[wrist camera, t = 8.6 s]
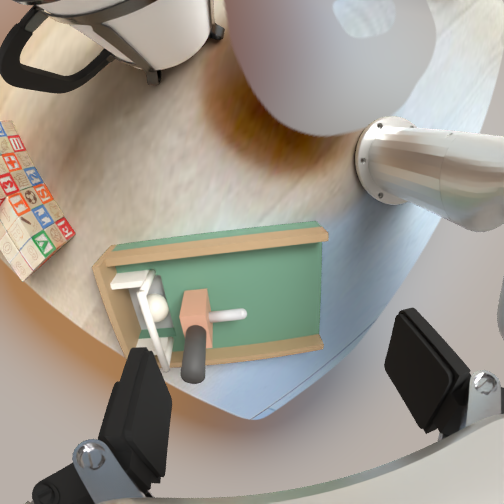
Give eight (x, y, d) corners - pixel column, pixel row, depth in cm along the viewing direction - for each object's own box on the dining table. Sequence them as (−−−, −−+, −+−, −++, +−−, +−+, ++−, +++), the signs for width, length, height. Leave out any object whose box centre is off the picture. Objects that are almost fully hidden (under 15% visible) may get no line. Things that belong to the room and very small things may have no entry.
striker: (243, 284, 38) (254, 351, 26) (246, 315, 40) (257, 386, 28) (184, 290, 37) (171, 358, 25) (191, 321, 39) (183, 392, 27)
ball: (132, 301, 36) (147, 287, 40) (140, 325, 38) (154, 310, 41) (156, 304, 35) (170, 289, 39) (163, 330, 37) (176, 313, 40)
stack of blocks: (78, 233, 36) (33, 271, 24) (53, 255, 36) (10, 295, 25) (12, 119, 28) (-44, 123, 16) (-9, 147, 28) (-62, 159, 17)
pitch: (315, 221, 38) (340, 245, 30) (314, 329, 45) (331, 367, 37) (110, 245, 37) (85, 274, 28) (143, 347, 44) (132, 387, 35)
